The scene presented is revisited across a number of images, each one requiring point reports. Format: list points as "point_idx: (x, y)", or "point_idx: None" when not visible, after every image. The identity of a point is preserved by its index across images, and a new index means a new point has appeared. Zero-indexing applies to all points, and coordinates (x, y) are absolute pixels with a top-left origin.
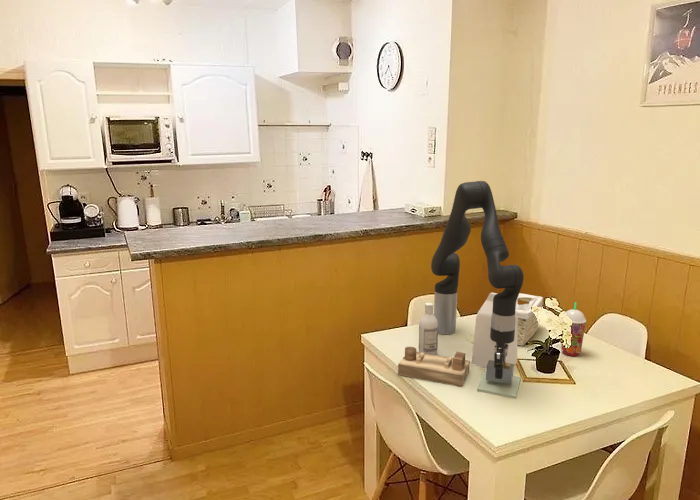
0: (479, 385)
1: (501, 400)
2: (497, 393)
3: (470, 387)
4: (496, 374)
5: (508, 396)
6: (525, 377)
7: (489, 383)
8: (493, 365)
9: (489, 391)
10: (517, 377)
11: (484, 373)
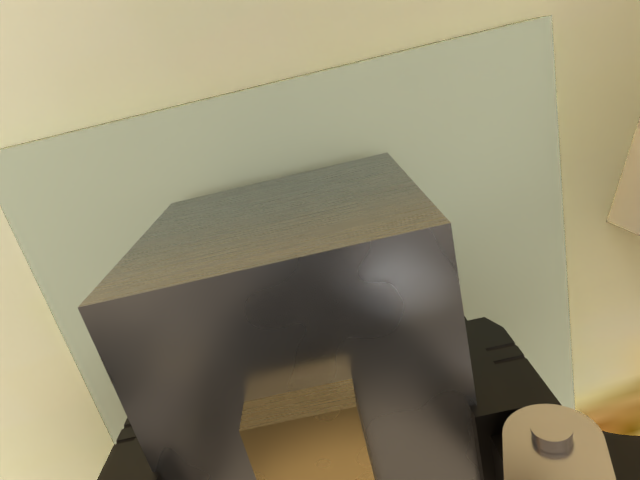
0: (80, 145)
1: (22, 420)
2: (83, 367)
3: (17, 38)
4: (123, 433)
5: None
6: (623, 427)
7: None
8: (212, 408)
9: (47, 295)
10: None
11: (460, 55)
